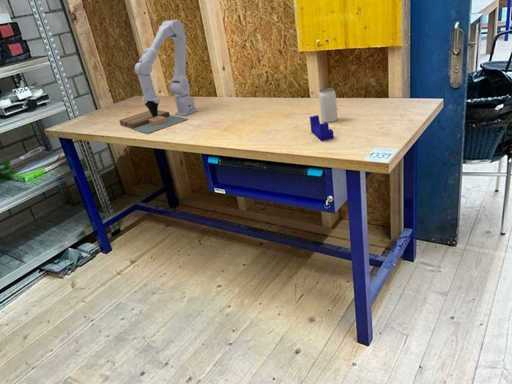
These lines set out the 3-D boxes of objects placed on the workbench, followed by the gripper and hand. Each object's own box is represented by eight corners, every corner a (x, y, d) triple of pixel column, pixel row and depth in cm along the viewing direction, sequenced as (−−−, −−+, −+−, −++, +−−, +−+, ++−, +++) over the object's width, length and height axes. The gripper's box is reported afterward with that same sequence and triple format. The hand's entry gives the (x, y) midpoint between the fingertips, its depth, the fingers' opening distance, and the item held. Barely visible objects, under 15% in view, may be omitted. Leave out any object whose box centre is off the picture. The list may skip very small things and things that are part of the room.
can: (338, 117, 168) (336, 87, 163) (336, 122, 163) (333, 91, 158) (322, 118, 171) (320, 88, 166) (319, 123, 165) (316, 92, 160)
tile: (166, 121, 205) (165, 117, 204) (155, 125, 202) (154, 121, 201) (160, 119, 210) (159, 115, 209) (149, 123, 207) (148, 119, 206)
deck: (170, 116, 214) (168, 112, 213) (134, 129, 203) (133, 124, 202) (155, 113, 225) (154, 109, 224) (120, 125, 215) (119, 120, 214)
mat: (188, 119, 203) (188, 118, 203) (147, 134, 191) (147, 133, 191) (171, 116, 214) (171, 115, 214) (132, 129, 202) (132, 128, 202)
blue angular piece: (333, 139, 148) (332, 122, 145) (321, 141, 147) (319, 125, 145) (322, 129, 158) (321, 114, 156) (311, 132, 158) (309, 116, 155)
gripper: (133, 89, 203) (141, 117, 209) (147, 91, 192) (155, 120, 198) (146, 85, 207) (153, 112, 213) (160, 87, 196) (168, 115, 202)
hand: (155, 116), depth 206 cm, fingers closed
